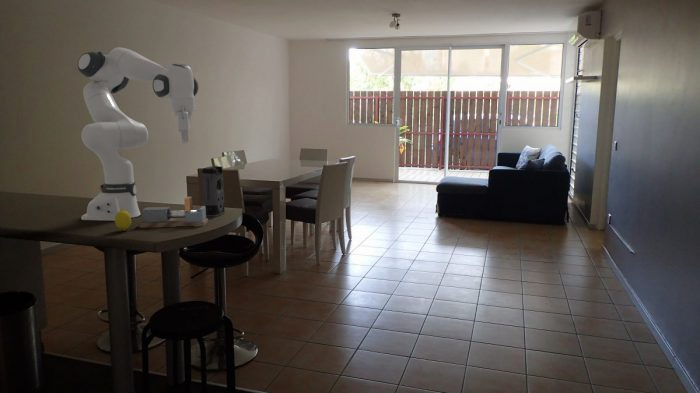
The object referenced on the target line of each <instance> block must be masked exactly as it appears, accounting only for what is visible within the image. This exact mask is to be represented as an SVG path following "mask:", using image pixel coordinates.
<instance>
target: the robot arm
mask: <svg viewBox="0 0 700 393" xmlns="http://www.w3.org/2000/svg"><path fill="white" fill-rule="evenodd" d="M77 69H78V71H79V73H80V74H82V75H83V76H84V77H86V78H88V79H90V80H91V82H88V83H86V85H85V86H84V87H83V90H82V92H83V93H82V94H83V99H84V103H85V105H86V107H87V110H88V112H89V115H90V117H91V119H92V121H93V123H88V124H86V125H85V126H84V127H83V129H82V131H81V134H80V136H81V141H82V143H83V144H84V146H85V147H86V148H87V149H89V150H90V151H92V152H93V153H94V154H95V155H97V158H98V159H99V160H100V162H101V164H102V169H103V176H104V183H103V184H101V185H100V186H99V188H98V189H100V193H98V194H97V195H96V196H95V197H94V198H93V199H92V200H91V201H89V203H88V205H87V207H86V213H85V214H83V215H81V217H80V218H81V220H82V221H112V222H113V221H114V222H115V216H116V214H117V213H118V212H119V211H121V210H124V211H127V212H128V213H129V214H130V216H131V219H132V218H136V217H139V216H140V215H141V210H140V209H139V204H138V200H137V197H136V196H137V186H136V181H135V179H134V178H135V174H134V165H133V163H132V162H131V160H130V159H127V158H125V157H123V156H120V155H119V152H118V150H123V149H135V148H138V147H139V148H140V147H143V146H145V145H146V143H147V142H148V139H149V131H148V129H147V127H146V126H145V124H144V123H142V122H140V121H136V120H134V119H132V118H131V117H129V116H128V115H127V114H125V113H124V112H123V111H122V110H121V109H120V108H119V106H118V105H117V102H116V101H115V98H114V96H113V95H112V94H117V93H118V92H120V91H122V90H123V89H125V88H126V87H127V85H128V84H129V81H130V80H131V81H136V82H152V90H153V92H154V94H155V95H156V96H157V97H158V98H161V99H170V105H171V106H170V107H171V112H174V115H175V116H177V121H178V122H177V124H178V132H181V139H182V141H181V142H182V144H188V142H189V131H190V129H191V124H192V123H191V121H192V120H191V119H192V116H193V112H195V111H196V99H195V98H196V97H195V96H196V95H197V93H198V91H199V82H198V79H196V77H195V76H194V74H193V70H192V68H191V66H190V65H187V64H182V63H172V64H170V65H169V68H168V67H165V66H163V65H161V64H158V63H157V62H155V61H152V60H151V59H149V58H147V57H145V56H143V55H141V54H140V53H138V52H136V51H134V50H131V49H129V48H125V47H120V46H119V47H114V48H113V49H112V50H111V51H110V52H109V53H108V54H104V53H103V52H102V51H88V52H87V51H86V52H85V53H83V54H81V56H80V57H79V58H78V61H77Z"/></svg>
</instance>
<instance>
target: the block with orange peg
mask: <svg viewBox="0 0 700 393" xmlns="http://www.w3.org/2000/svg"><path fill="white" fill-rule="evenodd" d="M183 200H184V201H183V203H184V210H180V209H179V210H170V211H167V218H171V219H184V218H185V212H198V211H197V210H198V209H194V208H193V196H186V197H184V199H183Z"/></svg>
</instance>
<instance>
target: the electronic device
mask: <svg viewBox="0 0 700 393" xmlns="http://www.w3.org/2000/svg"><path fill="white" fill-rule="evenodd" d="M223 171H224V170H223V166H220V165H213V166H212V165H211V166H206V167H203V168H201V172H202V173H201V174H202V175H201V176H202V191H203V192H202V193H203V194H202V195H203V206H205V207H206V218H207V217H208V218H210V217H211V218H216V217H219V216H220V215H223V214H225V211H226V210H225V194H224V193H225V191H224V173H223Z"/></svg>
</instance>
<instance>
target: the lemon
mask: <svg viewBox="0 0 700 393" xmlns="http://www.w3.org/2000/svg"><path fill="white" fill-rule="evenodd" d="M114 222H115V226H116V227H117V228H118V229H119V230H122V231H123V232H124V231H126V230H127V229H128V228H130V227H131V225H132V218H131V216H130V214H129V213H128V212H127V211H124V210H121V211H119V212H118V213H117V214H116V216H115V221H114Z"/></svg>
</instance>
